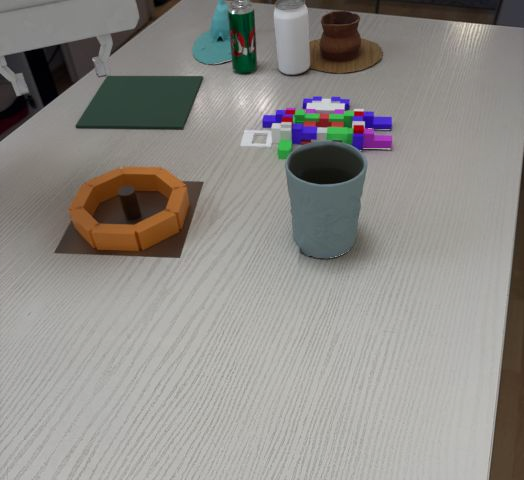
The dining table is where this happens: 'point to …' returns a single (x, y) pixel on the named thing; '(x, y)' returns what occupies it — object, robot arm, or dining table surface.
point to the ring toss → (133, 222)
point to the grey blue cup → (325, 196)
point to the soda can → (242, 36)
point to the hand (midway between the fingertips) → (63, 83)
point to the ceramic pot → (342, 45)
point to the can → (292, 36)
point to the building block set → (320, 126)
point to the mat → (141, 102)
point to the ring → (125, 234)
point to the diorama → (215, 38)
